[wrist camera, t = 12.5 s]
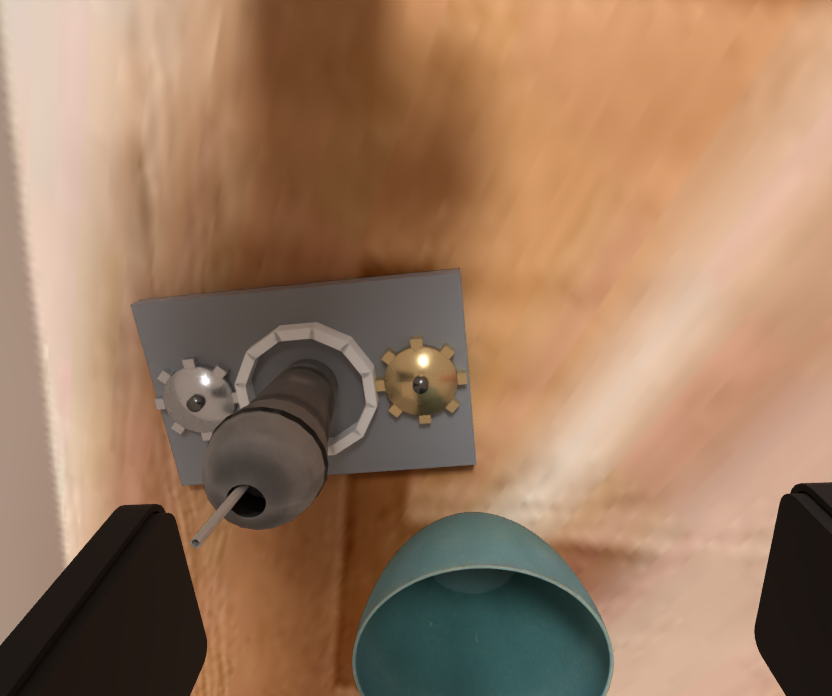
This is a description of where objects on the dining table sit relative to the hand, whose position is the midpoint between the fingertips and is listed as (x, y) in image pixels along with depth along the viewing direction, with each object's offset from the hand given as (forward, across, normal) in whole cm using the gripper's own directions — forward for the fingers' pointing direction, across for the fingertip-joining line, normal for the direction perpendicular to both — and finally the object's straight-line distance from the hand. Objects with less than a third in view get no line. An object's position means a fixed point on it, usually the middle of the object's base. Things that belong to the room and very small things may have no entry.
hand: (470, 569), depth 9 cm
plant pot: (+34, -1, +29) cm, 45 cm away
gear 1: (+33, +20, +12) cm, 40 cm away
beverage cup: (+33, +11, +12) cm, 37 cm away
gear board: (+34, +11, +12) cm, 38 cm away
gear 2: (+33, +2, +11) cm, 35 cm away
